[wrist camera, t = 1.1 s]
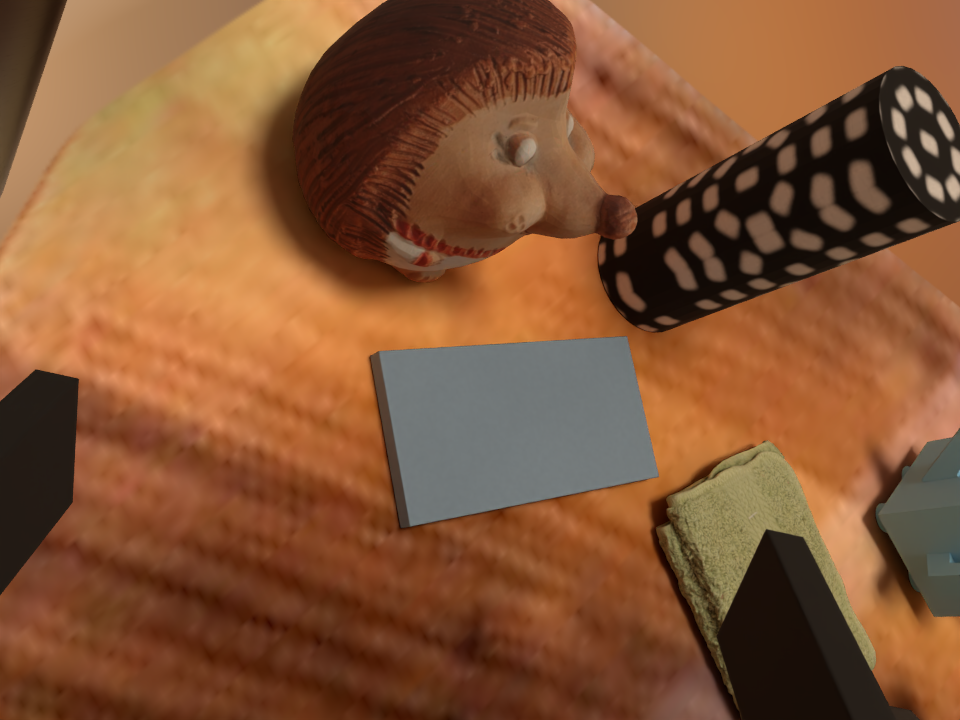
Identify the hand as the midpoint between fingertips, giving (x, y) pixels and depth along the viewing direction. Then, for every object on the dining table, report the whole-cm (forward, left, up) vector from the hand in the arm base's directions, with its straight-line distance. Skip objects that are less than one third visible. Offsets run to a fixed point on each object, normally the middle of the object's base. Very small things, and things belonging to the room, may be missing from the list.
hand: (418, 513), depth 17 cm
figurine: (-18, +17, -25) cm, 35 cm away
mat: (-4, +23, -25) cm, 34 cm away
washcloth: (+9, +39, -25) cm, 47 cm away
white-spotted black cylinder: (-13, +36, -25) cm, 46 cm away
